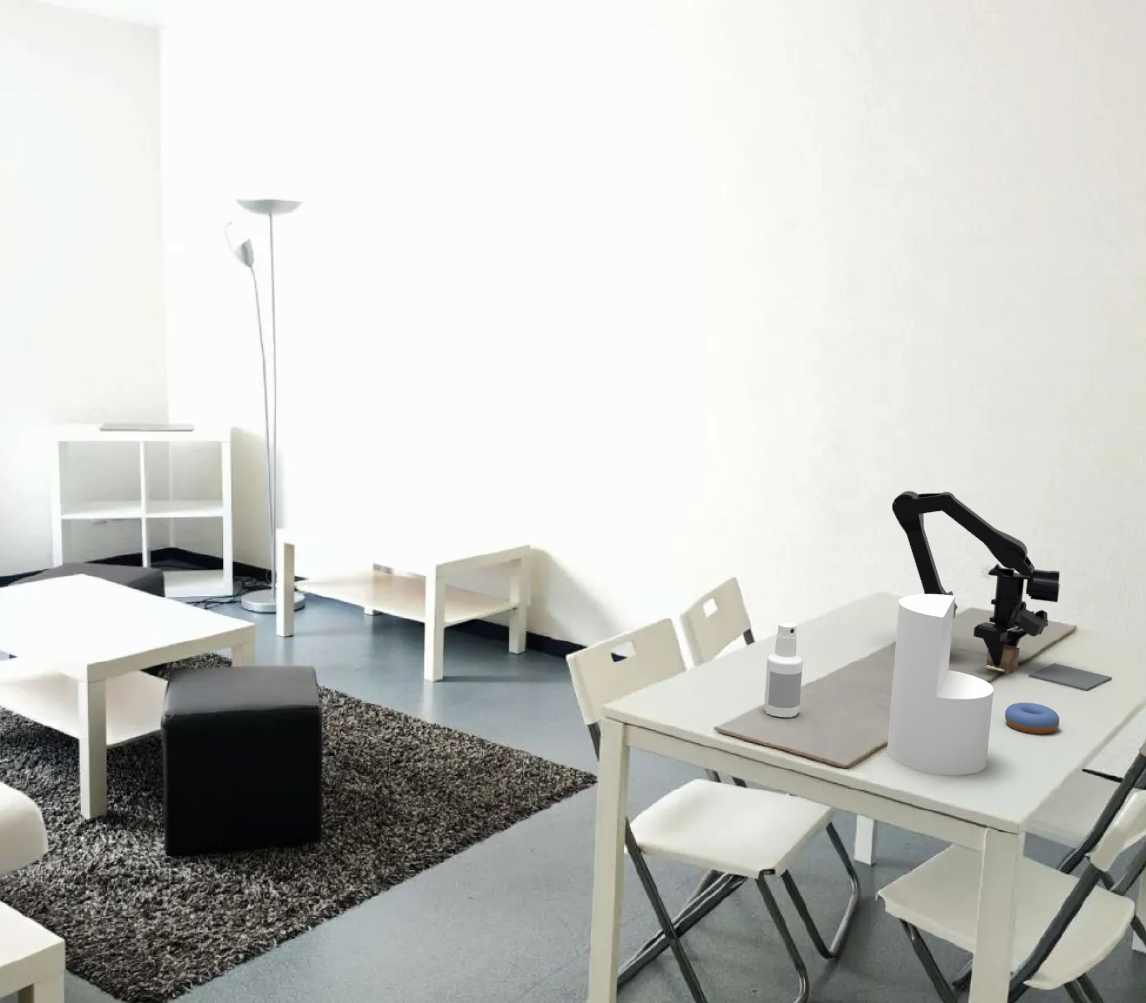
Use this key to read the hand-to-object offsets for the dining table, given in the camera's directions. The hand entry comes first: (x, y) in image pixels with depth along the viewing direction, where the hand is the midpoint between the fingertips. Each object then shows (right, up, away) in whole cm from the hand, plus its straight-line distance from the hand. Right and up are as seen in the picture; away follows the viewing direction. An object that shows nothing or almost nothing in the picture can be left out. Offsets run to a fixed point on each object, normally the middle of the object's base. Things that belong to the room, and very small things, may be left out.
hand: (1002, 663), depth 273 cm
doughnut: (-8, -8, -37) cm, 39 cm away
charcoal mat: (+13, -3, -5) cm, 14 cm away
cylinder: (-31, -10, -55) cm, 64 cm away
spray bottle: (-56, -5, -34) cm, 66 cm away
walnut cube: (0, -1, 0) cm, 1 cm away
